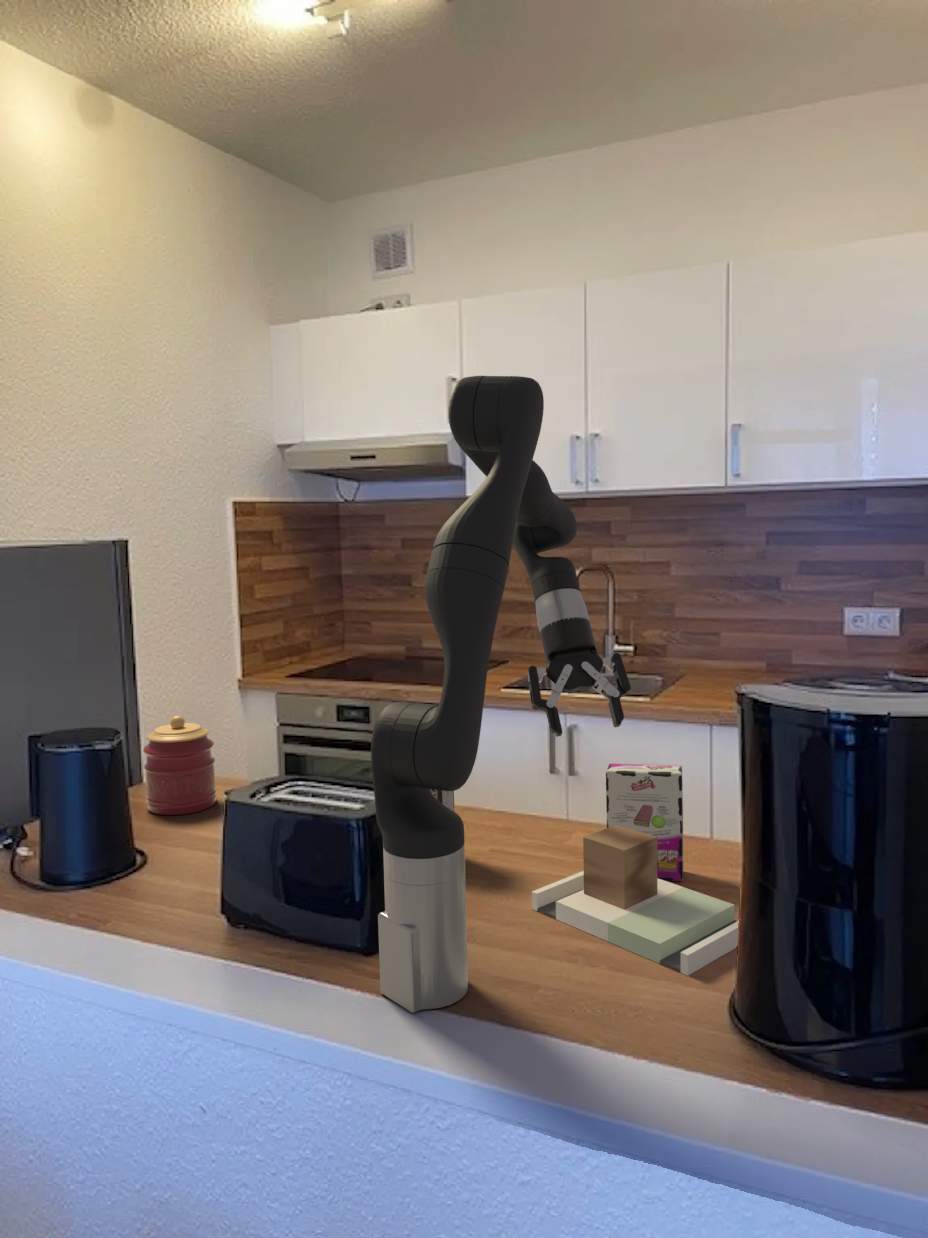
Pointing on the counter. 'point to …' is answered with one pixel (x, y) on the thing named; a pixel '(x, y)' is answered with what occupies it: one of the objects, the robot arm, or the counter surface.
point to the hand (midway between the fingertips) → (588, 730)
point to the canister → (179, 769)
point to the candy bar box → (650, 809)
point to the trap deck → (648, 922)
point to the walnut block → (620, 866)
